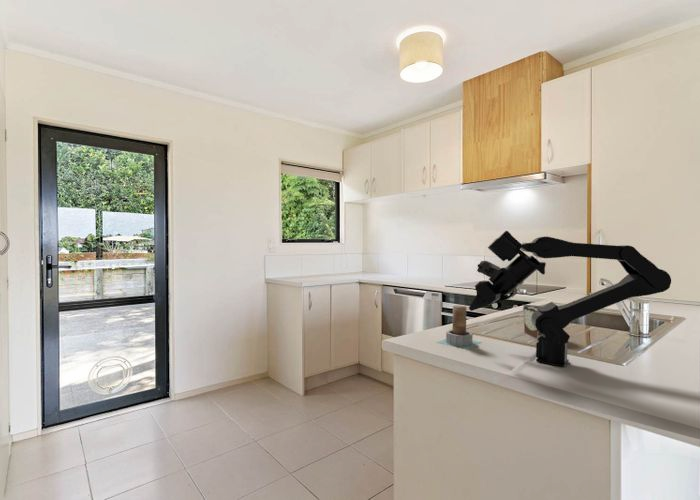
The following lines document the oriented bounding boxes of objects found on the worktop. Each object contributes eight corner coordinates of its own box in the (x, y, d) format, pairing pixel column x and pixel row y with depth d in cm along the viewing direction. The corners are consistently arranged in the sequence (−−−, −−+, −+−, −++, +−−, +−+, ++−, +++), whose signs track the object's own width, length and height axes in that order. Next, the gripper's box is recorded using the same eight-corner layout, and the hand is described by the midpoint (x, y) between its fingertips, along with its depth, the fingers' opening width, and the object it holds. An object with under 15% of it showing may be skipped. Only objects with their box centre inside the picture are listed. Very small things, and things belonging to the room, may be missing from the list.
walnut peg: (468, 342, 111) (468, 306, 110) (462, 345, 108) (462, 308, 108) (455, 340, 113) (456, 305, 113) (450, 342, 110) (450, 306, 110)
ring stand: (481, 345, 111) (481, 332, 111) (467, 352, 103) (467, 338, 103) (451, 339, 118) (451, 327, 118) (436, 345, 110) (436, 332, 110)
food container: (559, 341, 116) (559, 311, 116) (539, 341, 117) (540, 310, 116) (539, 332, 129) (540, 304, 129) (522, 332, 129) (522, 304, 129)
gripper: (506, 251, 110) (471, 284, 117) (482, 251, 96) (444, 289, 103) (534, 278, 105) (495, 311, 112) (513, 283, 91) (470, 320, 98)
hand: (476, 307), depth 107 cm, fingers open, 9 cm apart
